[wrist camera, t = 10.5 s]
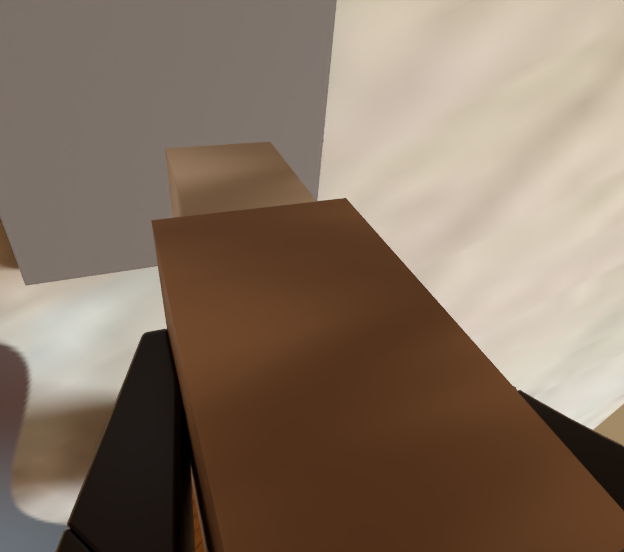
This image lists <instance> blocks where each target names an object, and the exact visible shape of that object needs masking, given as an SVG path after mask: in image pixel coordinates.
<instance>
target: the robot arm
mask: <svg viewBox="0 0 624 552" xmlns="http://www.w3.org/2000/svg"><path fill="white" fill-rule="evenodd" d="M513 387H514V386H513ZM514 388H515V387H514ZM515 389H516V388H515ZM516 390H517V389H516ZM518 393H519V394H520V395H521V396H522V397H523V398H524V399H525V400H526V402H527V403H528V404H529V405H530V406H531V407H532V408H533V409H534V411H535V412H536V413H537V414H538V415H539V416H540V417H541V419H542V420H543V421H544V422H545V423H546V424H547V425H548V426H549V428H550V429H551V430H552V431H553V432H554V433H555V434H556V435H557V437H558V438H559V439H560V440H561V441H562V442H563V443H564V444H565V446H566V447H567V448H568V449H569V450H570V451H571V452H572V453H573V455H574V456H575V457H576V458H577V459H578V460H579V461H580V462H581V464H582V465H583V466H584V467H585V468H586V469H587V470H588V471H589V473H590V474H591V475H592V476H593V477H594V478H595V479H596V480H597V482H598V483H599V484H600V485H601V486H602V487H603V488H604V489H605V491H606V492H607V493H608V494H609V495H610V496H611V497H612V498H613V500H614V501H615V502H616V503H617V504H618V505H619V506H620V507H621V509H622V510H623V511H624V446H623V445H621V444H619V443H617V442H615V441H613V440H611V439H609V438H607V437H605V436H603V435H601V434H599V433H597V432H595V431H593V430H591V429H590V428H588V427H586V426H584V425H582V424H580V423H578V422H576V421H574V420H572V419H570V418H568V417H567V416H565V415H563V414H561V413H560V412H558V411H556V410H554V409H552V408H551V407H549V406H547V405H545V404H543V403H542V402H540V401H538V400H536V399H535V398H533V397H531V396H530V395H528V394H526V393H524V392H523V391H521V390H518ZM67 527H68V529H66V530H65V531H64V532H63V534H62V537H61V539H60V542H59V545H58V547H57V549H56V552H196V551H195V532H194V514H193V495H192V476H191V462H190V455H189V448H188V440H187V433H186V426H185V419H184V411H183V404H182V397H181V390H180V385H179V380H178V375H177V370H176V366H175V361H174V357H173V352H172V347H171V343H170V338H169V333H168V330H167V329H161V330H156V331H151V332H146V333H144V334H143V335H142V337H141V339H140V342H139V344H138V347H137V349H136V352H135V354H134V357H133V359H132V362H131V364H130V367H129V370H128V372H127V375H126V377H125V380H124V382H123V385H122V387H121V390H120V392H119V395H118V397H117V400H116V402H115V405H114V407H113V410H112V412H111V415H110V417H109V420H108V422H107V425H106V427H105V430H104V432H103V435H102V437H101V440H100V442H99V445H98V447H97V450H96V452H95V455H94V457H93V460H92V462H91V465H90V467H89V470H88V472H87V475H86V477H85V480H84V482H83V485H82V487H81V490H80V492H79V495H78V498H77V500H76V503H75V505H74V508H73V510H72V513H71V515H70V518H69V520H68V523H67Z"/></svg>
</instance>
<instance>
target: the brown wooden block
mask: <svg viewBox="0 0 624 552" xmlns="http://www.w3.org/2000/svg"><path fill="white" fill-rule="evenodd" d="M165 154H166V163H167V172H168V181H169V189H170V198H171V207H172V216H173V218H166V219H158V220H151V222H152V229H153V235H154V242H155V249H156V256H157V263H158V270H159V276H160V283H161V290H162V297H163V304H164V311H165V317H166V324H167V330H168V333H169V338H170V343H171V347H172V352H173V357H174V361H175V366H176V370H177V375H178V380H179V385H180V390H181V397H182V404H183V411H184V419H185V426H186V433H187V440H188V448H189V455H190V462H191V476H192V486H193V491H194V496H195V501H196V507H197V512H198V517H199V522H200V528H201V533H202V538H203V543H204V549H205V552H624V511H623V510H622V509H621V507H620V506H619V505H618V504H617V503H616V502H615V501H614V500H613V498H612V497H611V496H610V495H609V494H608V493H607V492H606V491H605V489H604V488H603V487H602V486H601V485H600V484H599V483H598V482H597V480H596V479H595V478H594V477H593V476H592V475H591V474H590V473H589V471H588V470H587V469H586V468H585V467H584V466H583V465H582V464H581V462H580V461H579V460H578V459H577V458H576V457H575V456H574V455H573V453H572V452H571V451H570V450H569V449H568V448H567V447H566V446H565V444H564V443H563V442H562V441H561V440H560V439H559V438H558V437H557V435H556V434H555V433H554V432H553V431H552V430H551V429H550V428H549V426H548V425H547V424H546V423H545V422H544V421H543V420H542V419H541V417H540V416H539V415H538V414H537V413H536V412H535V411H534V409H533V408H532V407H531V406H530V405H529V404H528V403H527V402H526V400H525V399H524V398H523V397H522V396H521V395H520V394H519V393H518V391H517V390H516V389H515V388H514V387H513V386H512V385H511V384H510V382H509V381H508V380H507V379H506V378H505V377H504V376H503V375H502V373H501V372H500V371H499V370H498V369H497V368H496V367H495V366H494V364H493V363H492V362H491V361H490V360H489V359H488V358H487V357H486V355H485V354H484V353H483V352H482V351H481V350H480V349H479V348H478V346H477V345H476V344H475V343H474V342H473V341H472V340H471V339H470V337H469V336H468V335H467V334H466V333H465V332H464V331H463V330H462V328H461V327H460V326H459V325H458V324H457V323H456V322H455V321H454V319H453V318H452V317H451V316H450V315H449V314H448V313H447V312H446V310H445V309H444V308H443V307H442V306H441V305H440V304H439V303H438V301H437V300H436V299H435V298H434V297H433V296H432V295H431V294H430V292H429V291H428V290H427V289H426V288H425V287H424V286H423V284H422V283H421V282H420V281H419V280H418V279H417V278H416V277H415V275H414V274H413V273H412V272H411V271H410V270H409V269H408V268H407V266H406V265H405V264H404V263H403V262H402V261H401V260H400V259H399V257H398V256H397V255H396V254H395V253H394V252H393V251H392V250H391V248H390V247H389V246H388V245H387V244H386V243H385V242H384V241H383V239H382V238H381V237H380V236H379V235H378V234H377V233H376V232H375V230H374V229H373V228H372V227H371V226H370V225H369V224H368V223H367V221H366V220H365V219H364V218H363V217H362V216H361V215H360V214H359V212H358V211H357V210H356V209H355V208H354V207H353V206H352V205H351V203H350V202H349V201H348V200H347V199H346V198H343V199H334V200H325V201H316V199H315V198H314V197H313V196H312V194H311V193H310V192H309V190H308V189H307V188H306V187H305V185H304V184H303V183H302V182H301V180H300V179H299V178H298V176H297V175H296V174H295V173H294V171H293V170H292V169H291V167H290V166H289V165H288V164H287V162H286V161H285V160H284V159H283V157H282V156H281V155H280V153H279V152H278V151H277V150H276V148H275V147H274V146H273V144H272V143H271V142H256V143H240V144H225V145H209V146H194V147H178V148H165Z"/></svg>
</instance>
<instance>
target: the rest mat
mask: <svg viewBox="0 0 624 552" xmlns="http://www.w3.org/2000/svg"><path fill="white" fill-rule="evenodd" d="M336 1H337V0H0V218H1V220H2V223H3V226H4V228H5V231H6V234H7V237H8V239H9V242H10V245H11V247H12V250H13V253H14V255H15V258H16V261H17V264H18V266H19V269H20V272H21V274H22V277H23V280H24V283H25V285H32V284H39V283H46V282H53V281H59V280H66V279H73V278H80V277H86V276H93V275H100V274H107V273H114V272H120V271H127V270H134V269H141V268H148V267H154V266H158V263H157V256H156V249H155V242H154V235H153V229H152V222H151V220H158V219H166V218H173V216H172V207H171V198H170V189H169V181H168V172H167V163H166V154H165V148H178V147H194V146H209V145H225V144H240V143H256V142H271V143H272V144H273V146H274V147H275V148H276V150H277V151H278V152H279V153H280V155H281V156H282V157H283V159H284V160H285V161H286V162H287V164H288V165H289V166H290V167H291V169H292V170H293V171H294V173H295V174H296V175H297V176H298V178H299V179H300V180H301V182H302V183H303V184H304V185H305V187H306V188H307V189H308V190H309V192H310V193H311V194H312V196H313V197H314V198H315V199H316V201H317V197H318V187H319V177H320V166H321V156H322V145H323V135H324V125H325V114H326V104H327V94H328V83H329V73H330V63H331V52H332V42H333V32H334V21H335V11H336Z"/></svg>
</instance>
